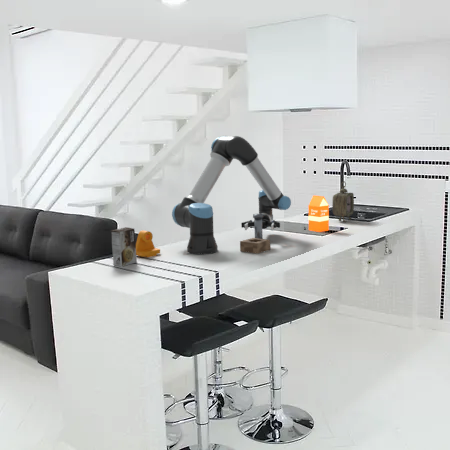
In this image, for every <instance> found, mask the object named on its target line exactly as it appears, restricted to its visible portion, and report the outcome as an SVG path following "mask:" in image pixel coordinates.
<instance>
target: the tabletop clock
mask: <svg viewBox="0 0 450 450" xmlns="http://www.w3.org/2000/svg"><path fill="white" fill-rule="evenodd" d="M343 183H344V185H343ZM346 184H347V183H346V181H345V180H343V181H342V182H341V185H340V187H341V188H340V190H339V192H337V193H335V194H333V195H332V214H333V216H336V217H339V219H338V221H339V222H340V221H342V222H343V223H346V219H345V217H348V220H349V221H351V220H352V217H350V216H352V215H353V214H354V207H355V197H354V196H355V194H354V193H353V192H348V189H347V188H346ZM342 219H343V220H342Z"/></svg>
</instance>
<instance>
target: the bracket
mask: <svg viewBox="0 0 450 450" xmlns="http://www.w3.org/2000/svg"><path fill="white" fill-rule="evenodd" d="M153 238H154V237H153V233H152V232H151V231H149V230H143V229H141V230H140V231H139V232H138V234H137V238H136V240H135V244H136V256H138V257H142V258H143V257H144V258H151V257H155V256H158V254H161V248H158V247H157V248H156V247H155V244H154V242H153Z"/></svg>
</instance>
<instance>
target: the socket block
mask: <svg viewBox="0 0 450 450" xmlns="http://www.w3.org/2000/svg"><path fill="white" fill-rule="evenodd" d="M239 248H240V249H239V251H240V252H241V253H243V252H244V253H249V254H256V255H257V254H260V253H264V251H265V252H268V251H271V239H266V238H263V239H259V238H255V237H252V238H247V239H242V240H240V241H239Z"/></svg>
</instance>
